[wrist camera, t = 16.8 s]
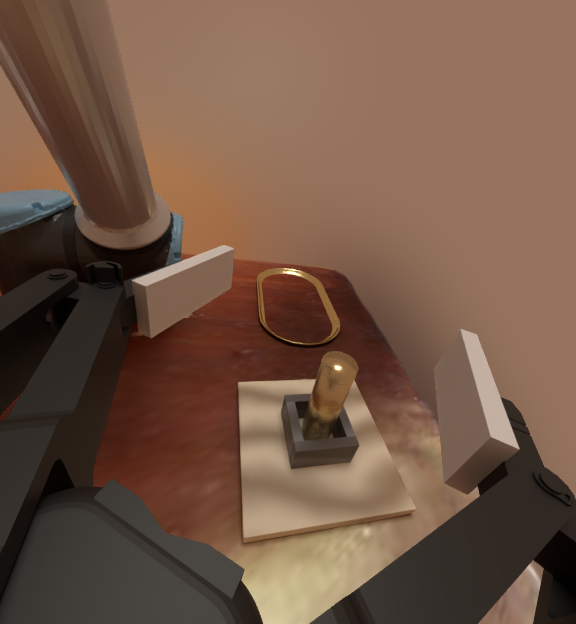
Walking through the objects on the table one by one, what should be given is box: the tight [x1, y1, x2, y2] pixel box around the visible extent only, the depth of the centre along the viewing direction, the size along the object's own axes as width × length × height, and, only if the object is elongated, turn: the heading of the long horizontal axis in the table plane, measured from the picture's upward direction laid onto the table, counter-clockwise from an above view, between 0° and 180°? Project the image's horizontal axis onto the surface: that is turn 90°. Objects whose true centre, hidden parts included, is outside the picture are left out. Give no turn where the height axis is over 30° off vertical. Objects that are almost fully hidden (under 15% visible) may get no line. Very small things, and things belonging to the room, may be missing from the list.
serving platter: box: [257, 268, 340, 346], centre depth 69 cm, size 19×35×2 cm, turn 7°
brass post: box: [301, 351, 358, 441], centre depth 33 cm, size 4×4×14 cm
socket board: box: [238, 379, 416, 543], centre depth 36 cm, size 20×20×6 cm
